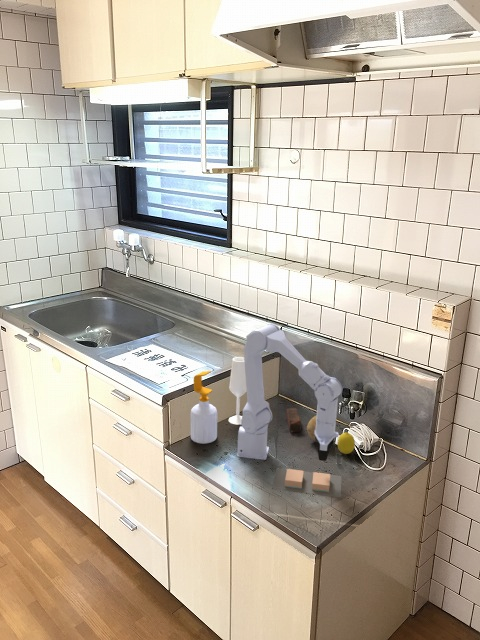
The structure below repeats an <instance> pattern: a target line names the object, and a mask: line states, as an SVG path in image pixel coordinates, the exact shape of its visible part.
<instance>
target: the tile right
mask: <svg viewBox="0 0 480 640" xmlns="http://www.w3.org/2000/svg"><path fill="white" fill-rule="evenodd" d="M312 473H313V482H312V490H317V491H324V492H329V486H330V475H331V473H323V472H316V471H313V472H312Z"/></svg>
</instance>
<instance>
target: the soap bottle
mask: <svg viewBox="0 0 480 640" xmlns="http://www.w3.org/2000/svg"><path fill="white" fill-rule="evenodd" d="M211 373H212V371H211V370H205V371H200V372H199V373H198V374H196V375H194V376H193V391H194V392H195V393H198V394H199V395H200V396H199V397H198V403H197V404H195V405H194V406H193V407H192V408H191V409H190V438H191V440H192V441H193V442H194V443H197V444H202V445H203V444H210V443H213V442H214V441H216V440H217V437H218V409H217V407H216V406H214V405H213V404H211V403H210V398H209V396H208V395H209V394H211V393H212V392H213V389H212V388H211V389H210V388H208V387H205V386H203V384H202V379H203V378H202V377H204V376H207V375H208V374H211Z"/></svg>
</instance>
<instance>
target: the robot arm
mask: <svg viewBox="0 0 480 640" xmlns="http://www.w3.org/2000/svg"><path fill="white" fill-rule="evenodd" d="M245 337H246V342H245V345H244V347H243V358H244V362H245V375H246V389H247V391H246V399H247V400H246V404H245V405H244V407H243V409H242V415H241V416H242V419H241V424H240V426H239V429H238V432H237V433H238V434H237V455H236V456H237V457H240V458H241V457H242V458H247V459H254V460H255V459H256V460H263V461H265V460H267V457H268V454H269V450H270V447H269V446H267V445H268V427H269V424H270V423H271V422H272V421H273V413H272V410H271V408H270V403H269V402H268V401H266V400H265V386H264V372H263V359H262V354H263V353H264V352H266V353H267V352H268V353H274V352H275V353H279V354H280V355H281V356H282V357H283V358H285V359H286V360H287V361H288V362H289V363H290V364H291V365H293V366H294V367H295V368H296V369H298V376H299V377H300V378H301V379H302V380H303V381H304V382H305V383H306V384H307V385H308V386H310V388H311V389H312V390H313V391H314V396H315V398H316V401H317V407H316V415H317V417H316V429H315V433H314V434H315V441H314V445H315V446H316V449H317V454H318V460H319V461H323V462H326V461H327V459H328V456H329V453H330V451H331V449H332V447H333V446H334V444H335V438H339V436H340V435H339V432H338V431H336V426H337V425H336V423H337V415H338V414H337V413H338V403H339V402H338V401H339V398H338V397H339V396H340V395H341V394H342V391H343V386H342V383H341V382H340V381H339V379H338V378H336V377H331V376H330V375H328V374H326V372H324V371H323V370H322V368H320V366H319V364H318V363H317V362H314V361H312V360H307V359H306V358H305V357H304V356H303V355H302V354H301V353H300V352H299V351H298V349H296V347H295V346H294V345H293V344H292V343H291V342H290V341H289V340H288V339H287V337H286V335H285V332H284V330H281V328H280V327H279V326H278V325H277V324H275V323H269V324H266V325H265V326H263V327H260V328H258V329H255V330H252V331H251V332H249V334H247V335H246V336H245Z"/></svg>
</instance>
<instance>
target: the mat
mask: <svg viewBox="0 0 480 640" xmlns="http://www.w3.org/2000/svg"><path fill="white" fill-rule="evenodd" d="M287 469H288V468H280V467H279V468H278V467H277V468H276V470H275V474H274V478H273V483H272V489H273V490H280V491H281V490H282V491H288V492H296V493H304V494H311V495H319V496H326V497H333V498H342V475H335V474H330V486H329V492H324V491H317V490H312V482H313V473H314V472H311V471H304V473H303V482H302V489H301V488H294V487H286V486H285V478H286V472H287Z"/></svg>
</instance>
